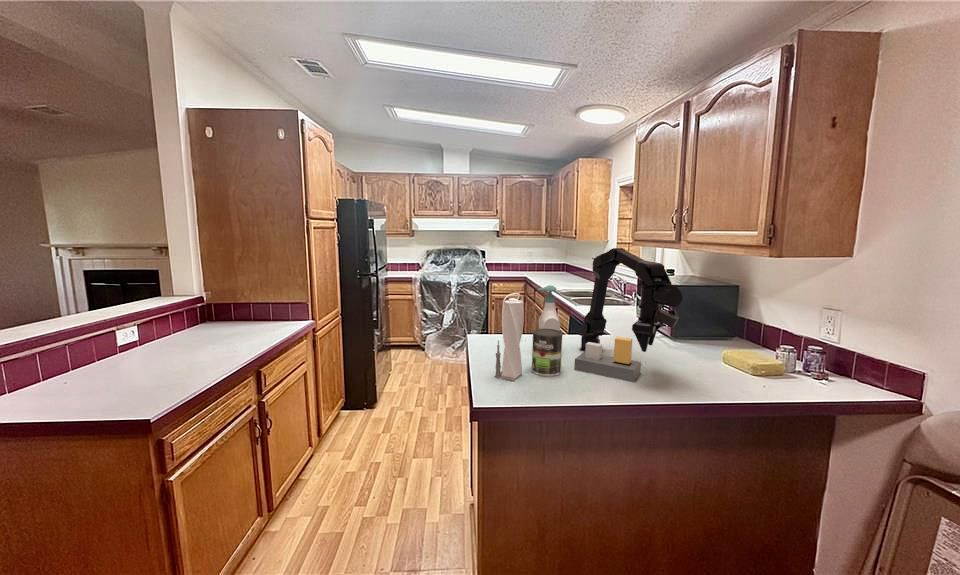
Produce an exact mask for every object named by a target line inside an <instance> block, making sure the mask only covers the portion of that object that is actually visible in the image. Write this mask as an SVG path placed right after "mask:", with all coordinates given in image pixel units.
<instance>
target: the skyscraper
mask: <svg viewBox="0 0 960 575" xmlns="http://www.w3.org/2000/svg"><path fill="white" fill-rule="evenodd" d="M513 295H518V296H517V298H513V297H512V298H508V297H510V296H513ZM520 297H521V293H519V292H513V293H509V294H506V296H505V297H504V299H503V301H502V308H501V310H502V312H501V330H502V339H503V344H504V348H503V357H502V365H501V352H500V346H501V345H500V340H497V345H496V347H497V350H496V353H495V361H496V362H495V375H494V377H493V378H495V377H496V378H495V379H500V378H501V379H500V380H504V379H505V381H510V382H515V381H517V379H519V378H521V376H522V375H523V366H522V365H523V364H522V353H521V345H520V343H521V340H522V336H523V330H524V318H525V316H524V314H525V310H524V301H523V300H519V299H520ZM507 298H508V300H507Z"/></svg>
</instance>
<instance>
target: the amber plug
mask: <svg viewBox="0 0 960 575" xmlns="http://www.w3.org/2000/svg"><path fill="white" fill-rule="evenodd" d="M613 350H614V352H613V357H614V361H615V362H620V363H625V364H629V363H630V362H631V360H632V353H633V352H632V351H633V338H628V337H621V336H616V337H615V338H614V349H613Z"/></svg>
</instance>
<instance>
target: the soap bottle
mask: <svg viewBox="0 0 960 575" xmlns="http://www.w3.org/2000/svg"><path fill="white" fill-rule="evenodd" d="M537 290H538V291H540V292H541V291H542V292H548V294H547V295H545V297H544V306H543V307H544V308H543V309H542V312H541V315H540V316H539V319H538V329H554V330H559V331H561V323H560V319H559V316H558V313H557V310H556V297H555V295H552V294H553V293H552V292H557V287H556V286H554V285H550V284H549V285H547V286H544V287H541V288H540V287H539V288H537Z"/></svg>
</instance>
